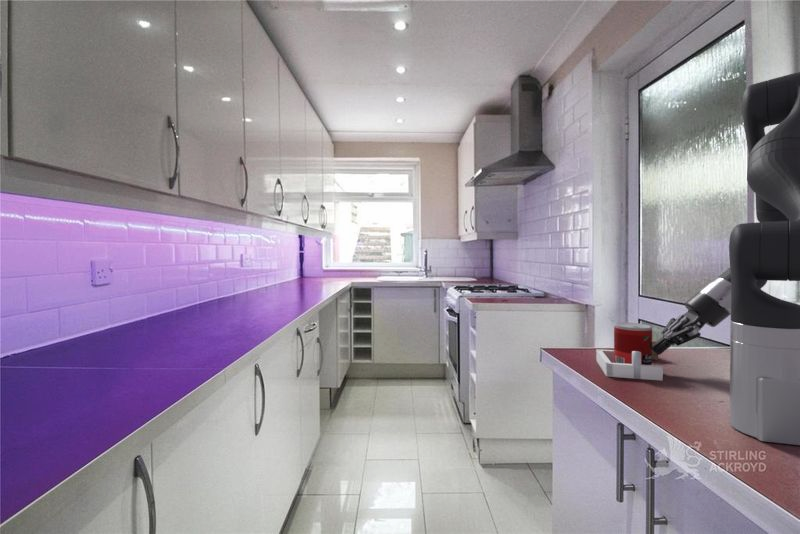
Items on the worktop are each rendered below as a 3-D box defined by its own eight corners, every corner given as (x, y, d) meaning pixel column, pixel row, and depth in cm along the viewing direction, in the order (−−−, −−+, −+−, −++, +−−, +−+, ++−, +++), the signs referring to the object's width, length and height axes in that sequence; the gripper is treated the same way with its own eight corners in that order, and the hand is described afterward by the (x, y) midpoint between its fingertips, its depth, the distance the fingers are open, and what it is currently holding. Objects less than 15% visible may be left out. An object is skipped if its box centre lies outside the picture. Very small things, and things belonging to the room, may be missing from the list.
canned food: (650, 376, 89) (651, 329, 89) (611, 370, 94) (611, 326, 94) (653, 368, 95) (653, 324, 95) (616, 363, 100) (616, 321, 100)
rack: (663, 381, 86) (663, 354, 86) (606, 376, 89) (606, 351, 89) (643, 362, 100) (643, 340, 100) (595, 359, 104) (595, 337, 103)
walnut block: (658, 359, 103) (658, 341, 103) (640, 360, 103) (640, 341, 103) (645, 354, 108) (645, 337, 108) (628, 355, 108) (628, 337, 108)
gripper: (690, 287, 96) (634, 334, 100) (714, 293, 83) (649, 346, 88) (716, 309, 94) (658, 356, 99) (744, 318, 82) (676, 371, 86)
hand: (654, 351), depth 93 cm, fingers closed
